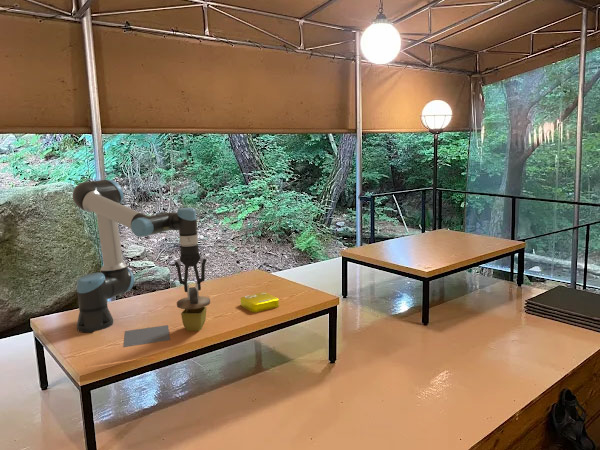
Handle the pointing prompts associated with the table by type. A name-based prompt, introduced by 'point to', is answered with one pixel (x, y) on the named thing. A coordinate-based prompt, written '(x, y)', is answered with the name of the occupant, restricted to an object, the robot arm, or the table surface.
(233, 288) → the table surface
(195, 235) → the robot arm
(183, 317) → the flower pot
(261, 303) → the element tile
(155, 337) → the mat
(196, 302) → the lid
